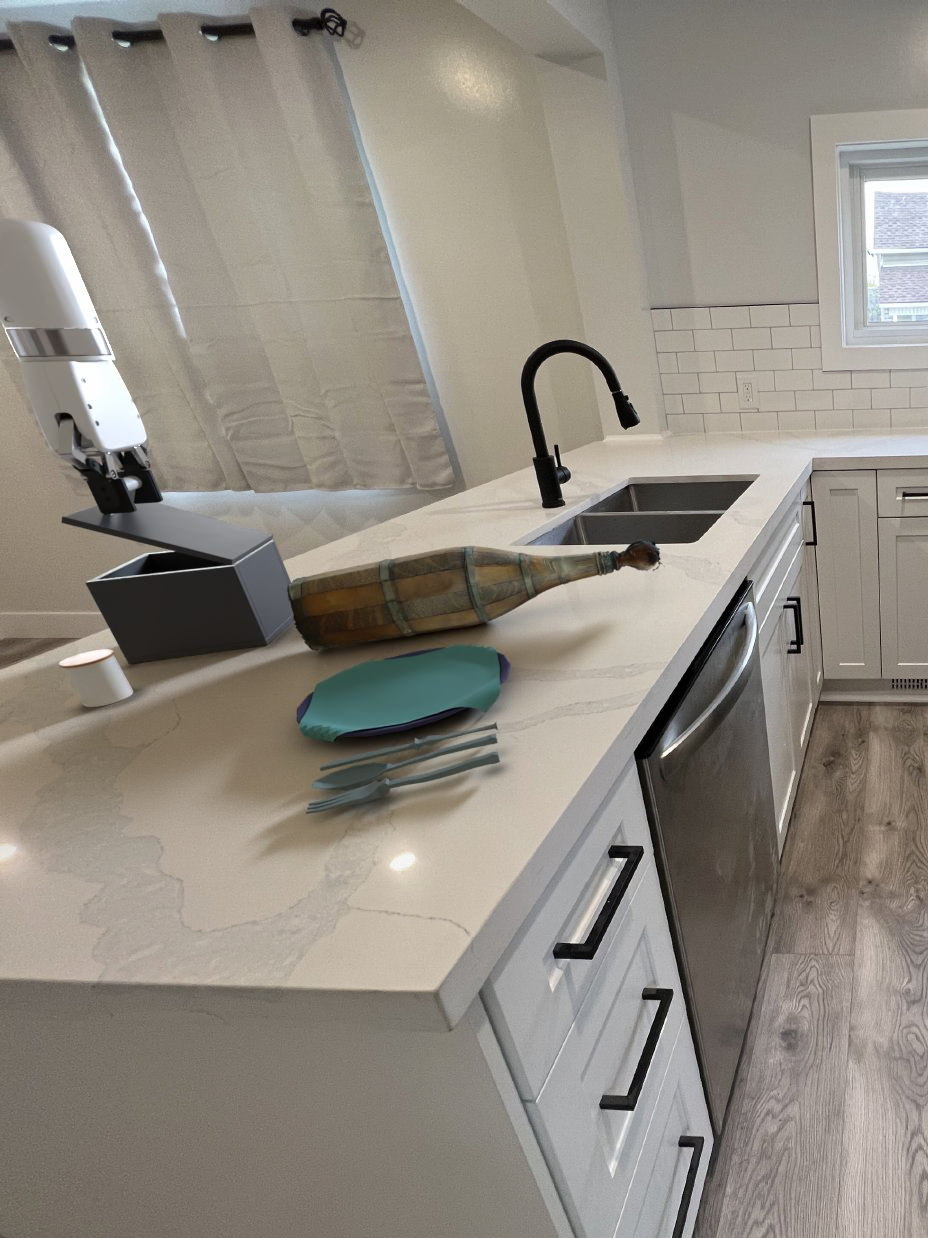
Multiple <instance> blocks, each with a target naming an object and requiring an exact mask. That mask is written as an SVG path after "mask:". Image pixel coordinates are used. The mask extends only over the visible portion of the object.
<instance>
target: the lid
mask: <svg viewBox="0 0 928 1238" xmlns="http://www.w3.org/2000/svg"><path fill="white" fill-rule="evenodd" d="M124 481H125V483H126V485H127V488H128V490H129V492H130V494H131V497H132V499H133V501H134V497H135V491H136V489H138V488H140V487H141V486H142V481H141V480H140V479H139V478H138V477H135V476H128V477H124ZM135 506H136V508H137V510H136V511H135V512H131V513H117V514H103V513H101V512H100V510H99V508H98V506H97V504H95V505H92V506H89V507H86V508H83V509H80V510H78V511H74V512H71V513H69V514H65V515H63V516H61V524H65V525H69V526H72V527H76V528H80V529H84V530H88V531H92V532H96V533H100V534H104V535H108V536H112V537H116V538H120V539H124V540H128V541H132V542H136V543H140V544H145V545H147V546H152V547H156V548H160V549H163V550H167V551H176V552H180V553H184V554H188V555H192V556H196V557H200V558H204V559H208V560H212V561H216V562H220V563H224V564H227V565H233V564H234V563H236V562H238V561H239V560H241V559H242V558H244V557H246V556H247V555H249V554H250V553H252V552H254V551H255V550H257V549H258V548H260V547H261V546H263V545H265V544H266V543H268V542H269V541H272V540H273V539H274V534H273V533H269V532H266V531H262V530H259V529H255V528H251V527H247V526H244V525H240V524H238V523H237V524H236V523H233V522H230V521H227V520H222V519H218V518H214V517H211V516H207V515H204V514H200V513H196V512H192V511H189V510H186V509H181V508H178V507H174V506H170V505H167V504H163V503H161V502H158V503H142V504H135Z"/></svg>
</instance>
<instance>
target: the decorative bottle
mask: <svg viewBox="0 0 928 1238" xmlns="http://www.w3.org/2000/svg"><path fill="white" fill-rule="evenodd" d="M660 550H661V548H659V547H658V546H657V545H656V542H655V541H654V540H653V541H652V540H649V541H646V540H644V539H638V540H635V541H632V542H631V543H630V544H629V545H628V546H627V547H626V548H625V550H622V551H619V552H618V551H616V550H611V551H610V550H607V551H602V550H600V551H594V552H588V553H578V554H566V555H539V554H538V555H537V554H536V555H535V554H529V553H525V552H517V551H512V550H507V549H501V548H496V547H495V548H493V547H487V546H486V547H485V546H477V545H466V546H452V547H446V548H440V549H435V550H430V551H425V552H419V553H415V554H409V555H405V556H400V557H395V558H386V559H385V558H384V559H382V560H379V561H374V562H369V563H363V564H360V565H359V564H358V565H354V566H349V567H345V568H340V569H334V570H330V571H324V572H321V573H316V574H313V575H308V576H301V577H297V578H294V579H293V580H291V584H289V585H288V586H287V592H288V597H289V598H288V600H289V601H290V603H291V608H292V612H293V619H294V621H293V623H294V626H295V630H297V632H298V633H299V635H301V636H300V637H301V639H302V640H303V641H304V644H305V645H306V646H307V647H308V649H310V650H311V651H317V652H318V651H319V650H322V649H330V648H335V647H341V646H346V645H347V646H348V645H355V644H363V643H370V642H376V641H384V640H390V639H397V638H404V637H412V636H416V635H422V634H429V633H435V632H441V631H447V630H454V629H459V628H468V627H472V626H477V625H480V624H484V623H489V622H491V621H493V620H496V619H497V618H501V617H502V616H504V615H507V614H508V613H510V612H512V611H514V610H515V609H517V608H519V607H520V606H522V605H524V604H526V603H527V602H529V601H530V600H533V599H535V598H536V597H538V596H539V595H541V594H543V593H545V592H547V591H549V590H551V589H554V588H556V587H559V586H561V585H566V584H569V583H572V582H577V581H580V580H585V579H589V578H593V577H597V576H598V577H602V576H606V575H608V574H612V573H614V571H616V572H619V571H620V570H621V569H622V568H624V567H629V568H632V569H636V570H637V571H642V572H643V571H645V572H648V571H649V570H652V571H653V572H654V571H656V570H658V569H659V567H660V565H663V563H662V562H661V560H662V559H661V557H660V554H661V553H660ZM657 564H658V566H656V565H657ZM655 566H656V568H654V567H655ZM663 567H665V565H663ZM652 568H654V569H652Z"/></svg>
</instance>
